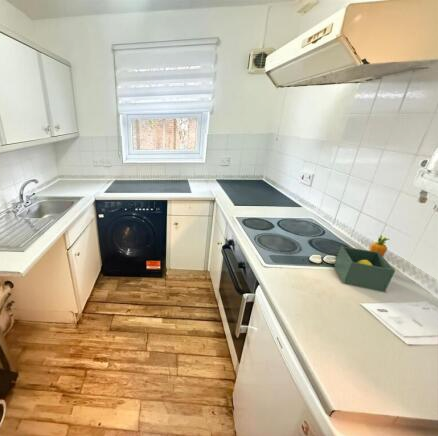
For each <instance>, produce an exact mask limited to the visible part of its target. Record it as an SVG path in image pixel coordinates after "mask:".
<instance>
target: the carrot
mask: <svg viewBox="0 0 438 436" xmlns="http://www.w3.org/2000/svg"><path fill="white" fill-rule="evenodd" d="M389 240H390V238H387V237H386V236H385V237H383V235H381V234H380V235H379V237H378V239H377V242H372V243H371V244H370V247H369V248H368V249H369V250H368V251H373V252H379V253H380V254H381V255H382V256H383V257H384V256H385V254H386V252H387V250H388V246H387V245H386V241H389Z"/></svg>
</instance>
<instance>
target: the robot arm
mask: <svg viewBox="0 0 438 436" xmlns="http://www.w3.org/2000/svg"><path fill="white" fill-rule="evenodd" d="M418 166H419V168H418V170H417V172H416V174H415V177H414V179H413V182H412V183H413V184H412V185H413V187H415V188H417V189H418V191H417V192H418V193H417V195H418V197H417V199H416V202H417V203H420V204H426V203H427V201H428V198H427V197H428V194H431V195H432V196H435V197H438V147H437V148H436V149H435V151H434V152H433V153H432V155H431V157H428V158H425V159H421V160H420V162H419V163H418ZM432 210H433V211H434V212H437V213H438V204H434V207H433V208H432Z"/></svg>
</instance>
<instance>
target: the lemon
mask: <svg viewBox="0 0 438 436" xmlns="http://www.w3.org/2000/svg"><path fill="white" fill-rule="evenodd" d="M357 263H360V264H366V265H372V263H371V262H369V261H368V260H360V261H358V262H357ZM372 266H373V265H372Z"/></svg>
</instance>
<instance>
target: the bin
mask: <svg viewBox="0 0 438 436" xmlns="http://www.w3.org/2000/svg"><path fill="white" fill-rule="evenodd" d="M360 260H368V261H369V262H371V263H372V265H373V266H372V265H366V264H360V263H357V262H358V261H360ZM333 265H334V266H333V267H334V269H335V270H336V272H337V274H338V276H339V278H340V281H342V284H344V285H349V286H354V287H359V288H364V289H368V290H373V291H378V292H383V293H385V292H386V290H387V288H388V286H389V284H390V282H391V280H392V278H393V276H394V274H395V272H396V270H395V269H394V267H393V266H391V264H390V263H389V262H388V261H387V260H386V259H385V258H384V256H382V255H381V254H380V253H379V252H373V251H369V250H368V249H367V250H366V249H361V248H353V247H350V246H349V247H347V246H340V248H339V251H338V254H337V256H336V259H335V262H334V264H333Z"/></svg>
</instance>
